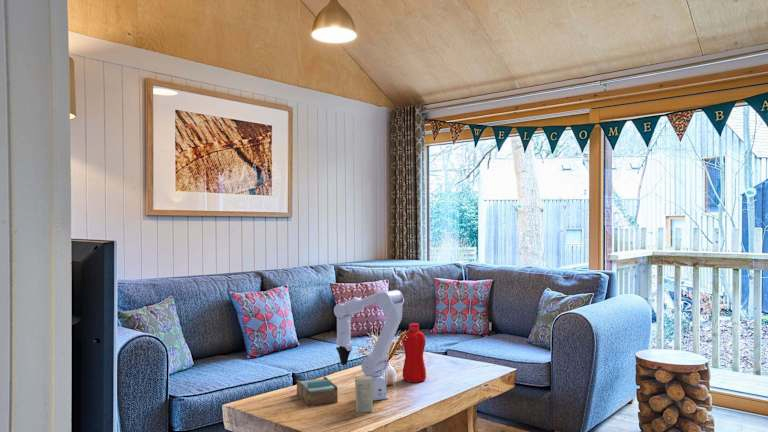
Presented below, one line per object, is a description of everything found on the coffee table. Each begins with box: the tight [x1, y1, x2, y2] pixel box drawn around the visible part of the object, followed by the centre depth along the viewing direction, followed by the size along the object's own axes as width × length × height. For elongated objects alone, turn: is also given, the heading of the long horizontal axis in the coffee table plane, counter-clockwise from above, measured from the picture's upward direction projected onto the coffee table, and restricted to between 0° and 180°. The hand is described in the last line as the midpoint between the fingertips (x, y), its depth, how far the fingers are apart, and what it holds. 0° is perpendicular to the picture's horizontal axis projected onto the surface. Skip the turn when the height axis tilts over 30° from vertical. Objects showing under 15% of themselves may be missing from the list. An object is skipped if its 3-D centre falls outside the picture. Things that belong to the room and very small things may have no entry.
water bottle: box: [401, 322, 427, 383], centre depth 254 cm, size 9×11×25 cm
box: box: [296, 376, 338, 407], centre depth 230 cm, size 16×12×6 cm
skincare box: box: [354, 375, 374, 413], centre depth 215 cm, size 6×4×12 cm
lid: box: [299, 378, 335, 392], centre depth 229 cm, size 14×10×3 cm
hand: (343, 364), depth 242 cm, fingers closed
